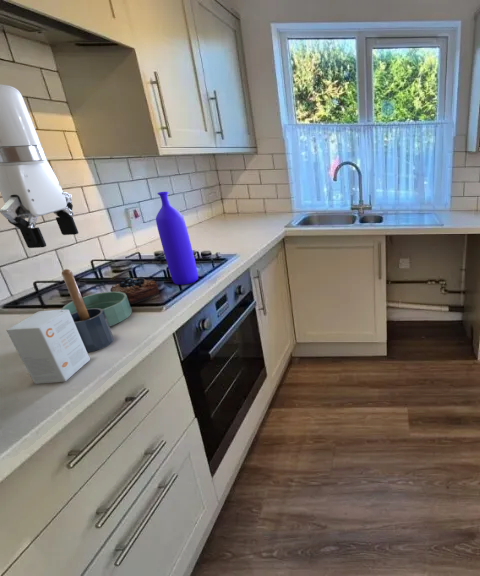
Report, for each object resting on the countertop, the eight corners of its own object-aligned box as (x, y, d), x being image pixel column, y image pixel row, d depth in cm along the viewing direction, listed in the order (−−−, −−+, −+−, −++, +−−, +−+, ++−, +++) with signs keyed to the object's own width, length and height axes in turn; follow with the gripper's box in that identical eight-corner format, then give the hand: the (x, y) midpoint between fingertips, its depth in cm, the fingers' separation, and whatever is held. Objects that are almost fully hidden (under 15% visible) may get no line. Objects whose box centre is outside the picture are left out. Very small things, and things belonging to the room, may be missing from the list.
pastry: (129, 306, 107) (123, 288, 105) (106, 299, 112) (100, 281, 110) (164, 292, 116) (159, 275, 114) (142, 286, 121) (136, 270, 119)
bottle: (174, 287, 120) (148, 195, 108) (171, 279, 126) (146, 192, 114) (201, 281, 124) (179, 192, 112) (196, 274, 130) (175, 189, 118)
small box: (62, 361, 82) (38, 310, 76) (91, 359, 82) (69, 308, 77) (32, 384, 74) (4, 329, 69) (65, 382, 74) (39, 327, 69)
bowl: (55, 335, 92) (47, 316, 90) (91, 310, 105) (84, 293, 103) (114, 331, 94) (107, 312, 91) (142, 307, 106) (136, 290, 104)
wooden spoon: (86, 345, 86) (56, 272, 79) (94, 339, 89) (65, 267, 82) (94, 345, 87) (64, 271, 79) (102, 338, 89) (74, 266, 82)
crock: (68, 353, 84) (55, 323, 81) (89, 337, 91) (77, 309, 88) (102, 351, 85) (90, 321, 82) (120, 335, 92) (109, 307, 89)
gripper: (34, 154, 78) (64, 231, 85) (-44, 160, 63) (1, 254, 70) (70, 152, 79) (98, 229, 86) (2, 159, 63) (43, 252, 70)
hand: (55, 240), depth 78 cm, fingers open, 9 cm apart
